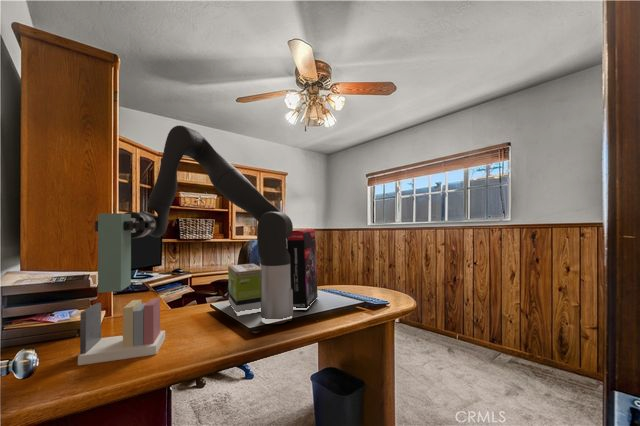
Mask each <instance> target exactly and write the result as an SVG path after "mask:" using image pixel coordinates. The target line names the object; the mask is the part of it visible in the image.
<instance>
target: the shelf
mask: <svg viewBox="0 0 640 426" xmlns="http://www.w3.org/2000/svg"><path fill="white" fill-rule="evenodd" d="M142 301H143V299H133V300H131V301H129V303H127V304H126V305H124V307H123V308H122V335H116V336H115V335H114V336H108V337H101V340H100V341H99V342H98V343H97V344H95V345H94V346H93V347H92V348H91V349H90V350H89V351H88V352H87V353H85V354H80V353H79V355H77V366H82V365H91V364H98V363H105V362H113V361H118V360H126V359H131V358H133V359H134V358H140V357H148V356H153V355H154V356H155V355H157V354H158V352H159V350H160V348H161V347H162V345H163V343H164V341H165V340H166V330H161V297H155V298H154V297H153V298H150V299H149V300H148V301H147V302H142Z"/></svg>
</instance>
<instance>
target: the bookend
mask: <svg viewBox="0 0 640 426" xmlns="http://www.w3.org/2000/svg"><path fill="white" fill-rule="evenodd" d="M79 314H80V319H79V320H80V323H79V324H80V328H79V329H80V331H79V333H80V335H79V336H80V337H79V339H80V340H79V341H80V343H79V345H80V347H79V350H80V353H79V355H80V354H85V353H87V352H88V351H89V350H90V349H91V348H92V347H93V346H94V345H95V344H97V343H98V342H99V341H100V340H101V338H102V302H96V303H94V304H92V305H91V306H89V307H87V308H85V309H83V310H82V311H81V312H80V313H79Z"/></svg>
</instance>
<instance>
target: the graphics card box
mask: <svg viewBox="0 0 640 426" xmlns="http://www.w3.org/2000/svg"><path fill="white" fill-rule="evenodd" d="M287 250H288V253H289V254H290V258H291V288H292V290H293V307H296V308H307V307H308V306H310V304H311V303H312V302H313V301H314V300H315V299H316V298H317V297H319V296H318V275H317V273H318V272H317V249H316V229H312V228H311V229H309V228H307V229H304V228H303V229H301V228H300V229H293V230H292V233H291V235H290V236H289V237H288V238H287ZM317 299H318V298H317ZM317 299H316V300H317ZM316 300H315V301H316Z"/></svg>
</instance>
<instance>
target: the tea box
mask: <svg viewBox="0 0 640 426" xmlns="http://www.w3.org/2000/svg"><path fill="white" fill-rule="evenodd" d="M227 274H228V275H227V276H228V304H229V303H230V304H231V306H232V307H233V308H234V310H235V311H236V312H240V311H245V310H252V309H259V308H261V272H260V265H257V264H255V263H245V264H243V263H242V264H235V265H228V266H227Z"/></svg>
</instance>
